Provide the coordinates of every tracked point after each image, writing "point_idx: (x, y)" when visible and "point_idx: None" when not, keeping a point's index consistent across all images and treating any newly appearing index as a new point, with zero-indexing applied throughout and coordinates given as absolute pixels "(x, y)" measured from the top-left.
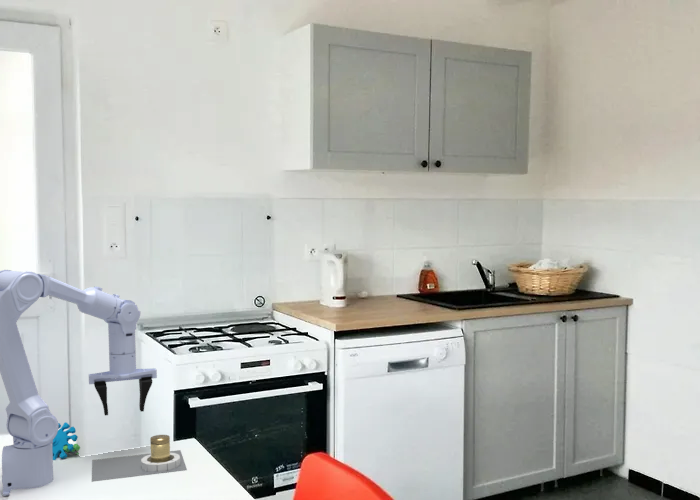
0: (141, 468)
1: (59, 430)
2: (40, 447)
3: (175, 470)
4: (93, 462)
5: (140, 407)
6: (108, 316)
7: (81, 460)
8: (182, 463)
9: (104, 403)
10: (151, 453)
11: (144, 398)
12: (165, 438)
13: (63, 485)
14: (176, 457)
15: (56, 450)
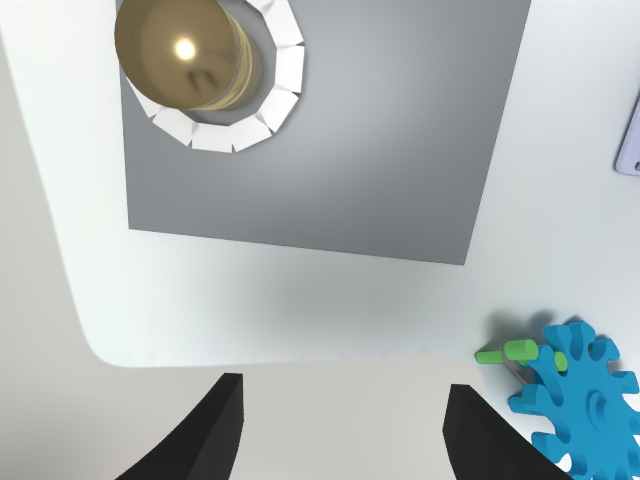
0: (306, 58)
1: (594, 465)
2: None
3: None
4: (467, 233)
5: (236, 395)
6: None
7: (481, 318)
8: None
9: (517, 443)
10: (250, 46)
11: (183, 432)
12: (141, 2)
13: (616, 61)
14: None
15: (585, 364)
